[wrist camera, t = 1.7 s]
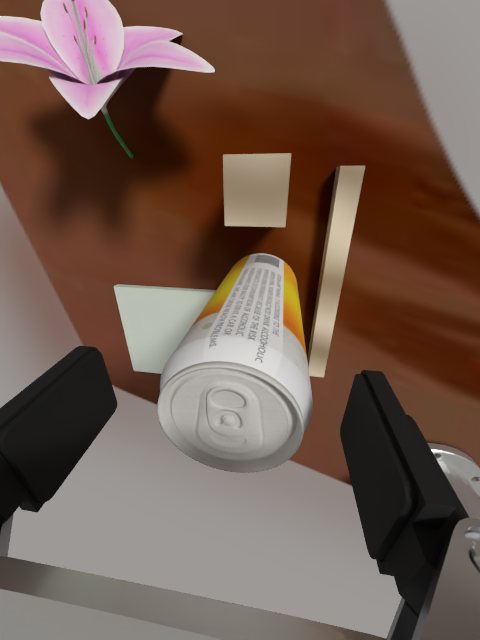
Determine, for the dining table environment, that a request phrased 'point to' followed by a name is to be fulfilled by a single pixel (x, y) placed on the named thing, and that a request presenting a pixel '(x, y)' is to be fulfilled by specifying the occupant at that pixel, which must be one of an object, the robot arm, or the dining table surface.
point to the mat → (157, 321)
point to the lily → (91, 51)
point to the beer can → (241, 373)
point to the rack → (270, 211)
